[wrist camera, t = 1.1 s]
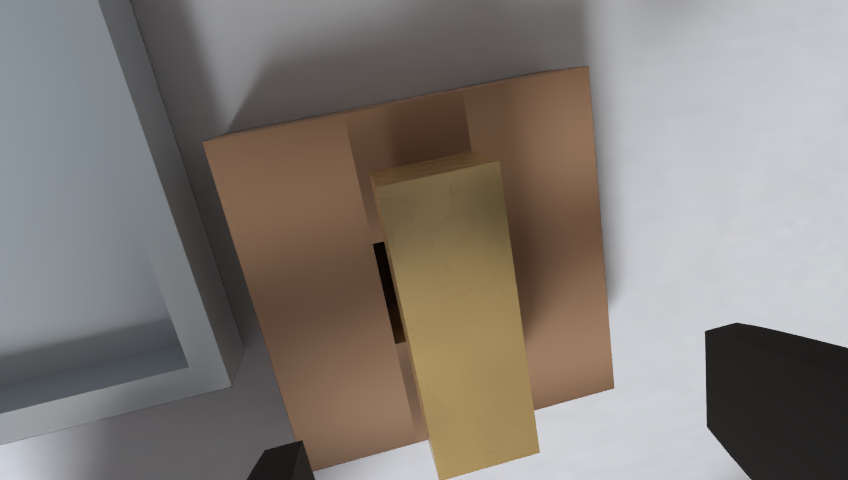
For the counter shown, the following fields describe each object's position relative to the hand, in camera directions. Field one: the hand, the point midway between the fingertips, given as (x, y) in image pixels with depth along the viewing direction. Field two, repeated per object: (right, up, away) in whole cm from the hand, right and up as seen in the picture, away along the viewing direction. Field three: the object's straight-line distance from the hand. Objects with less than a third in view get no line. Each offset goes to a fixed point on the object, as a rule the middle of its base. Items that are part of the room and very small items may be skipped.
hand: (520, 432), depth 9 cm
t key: (-2, +3, +10) cm, 10 cm away
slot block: (-2, +3, +10) cm, 10 cm away
